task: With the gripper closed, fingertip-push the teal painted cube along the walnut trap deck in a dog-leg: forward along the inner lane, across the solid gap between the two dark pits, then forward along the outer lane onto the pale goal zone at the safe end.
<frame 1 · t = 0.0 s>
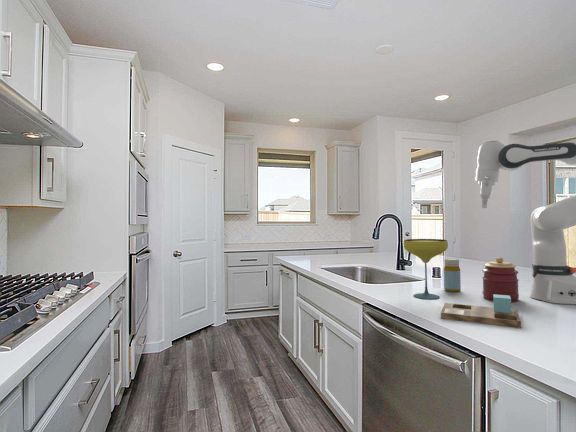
hand: (484, 207, 152), 39 cm above the worktop, tool pointing down, fingers open, 8 cm apart
trap deck: (479, 316, 117), on the worktop
teal block: (502, 310, 117), point 2 cm above the worktop, touching trap deck
cocktail glass: (426, 297, 148), on the worktop
bottle: (452, 291, 159), on the worktop
canister: (500, 299, 141), on the worktop
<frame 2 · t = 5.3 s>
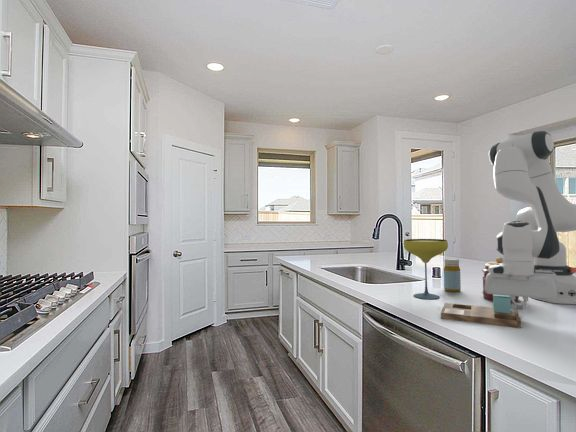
hand: (519, 309, 114), 3 cm above the worktop, tool pointing down, fingers closed
teal block: (501, 310, 117), point 2 cm above the worktop, touching gripper
everything else where it was.
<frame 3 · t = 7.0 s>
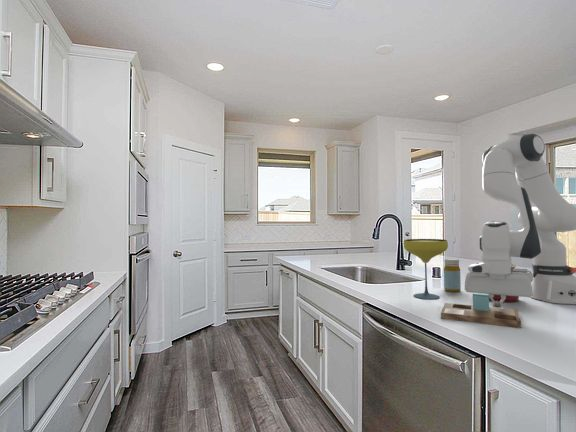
hand: (497, 307, 117), 3 cm above the worktop, tool pointing down, fingers closed
teal block: (481, 308, 120), point 2 cm above the worktop, touching gripper, trap deck
everything else where it was.
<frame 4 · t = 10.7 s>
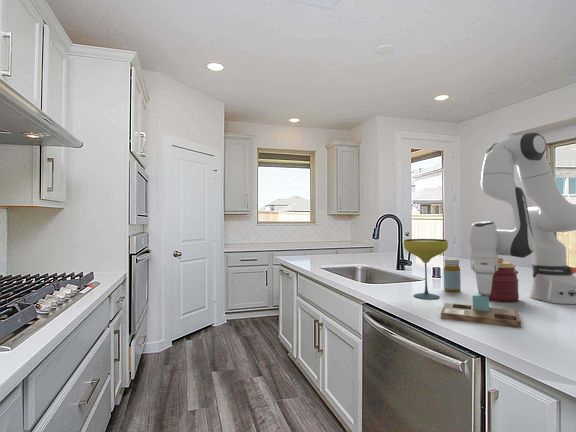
hand: (484, 302, 124), 3 cm above the worktop, tool pointing down, fingers closed
nothing on the worktop moved.
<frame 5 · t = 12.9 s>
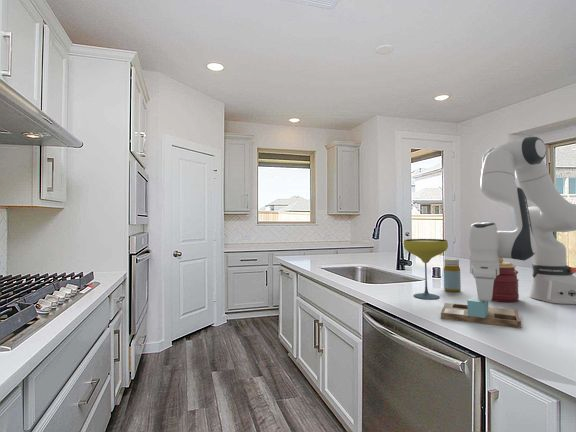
hand: (485, 308, 115), 3 cm above the worktop, tool pointing down, fingers closed
teal block: (477, 314, 112), point 2 cm above the worktop, touching gripper, trap deck
everything else where it was.
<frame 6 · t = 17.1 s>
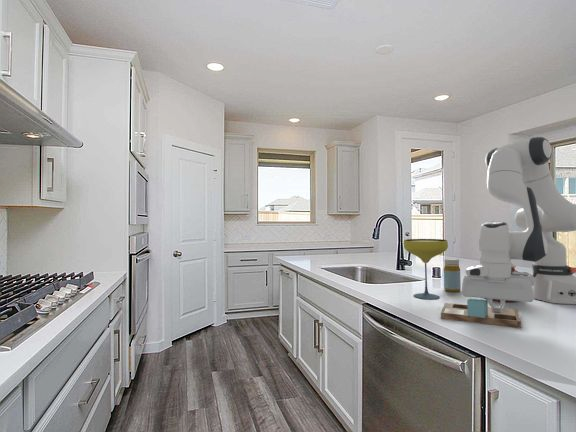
hand: (496, 312, 111), 3 cm above the worktop, tool pointing down, fingers closed
teal block: (477, 314, 112), point 2 cm above the worktop, touching gripper
everything else where it was.
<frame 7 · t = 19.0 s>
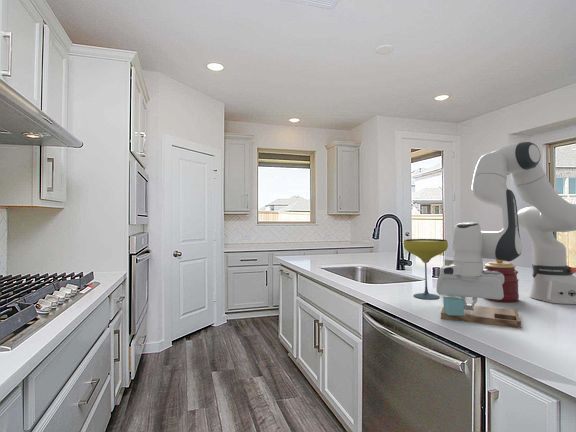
hand: (469, 309, 115), 3 cm above the worktop, tool pointing down, fingers closed
teal block: (453, 313, 115), point 2 cm above the worktop, touching gripper, trap deck
everything else where it was.
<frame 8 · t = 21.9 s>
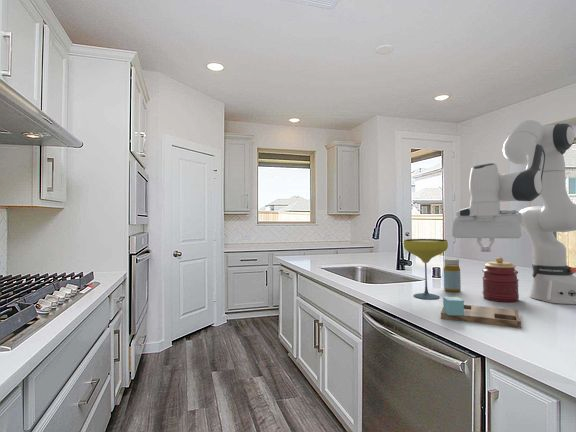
hand: (485, 251, 114), 23 cm above the worktop, tool pointing down, fingers closed
teal block: (453, 313, 115), point 2 cm above the worktop, touching trap deck
everything else where it was.
at the end: teal block inside the target area on the trap deck (2.6 cm from its centre), point 2.0 cm above the trap deck's base; teal block tilted 0° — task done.
